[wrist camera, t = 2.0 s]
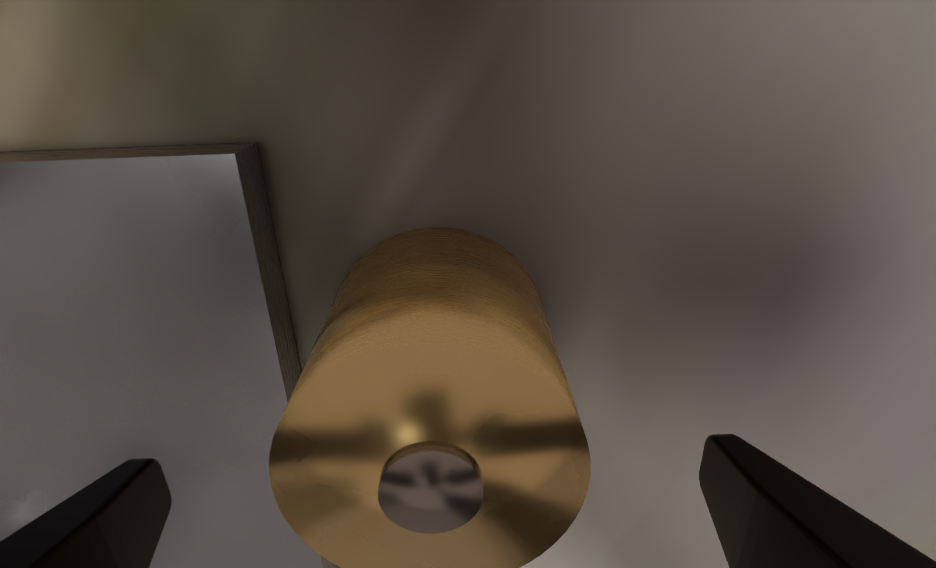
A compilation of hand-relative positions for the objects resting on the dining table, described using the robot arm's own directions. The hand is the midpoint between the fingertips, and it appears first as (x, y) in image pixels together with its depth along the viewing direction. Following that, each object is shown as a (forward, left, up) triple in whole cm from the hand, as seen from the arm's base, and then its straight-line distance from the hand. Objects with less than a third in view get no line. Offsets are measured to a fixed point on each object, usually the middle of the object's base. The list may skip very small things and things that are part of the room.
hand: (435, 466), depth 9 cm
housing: (0, 0, -5) cm, 5 cm away
